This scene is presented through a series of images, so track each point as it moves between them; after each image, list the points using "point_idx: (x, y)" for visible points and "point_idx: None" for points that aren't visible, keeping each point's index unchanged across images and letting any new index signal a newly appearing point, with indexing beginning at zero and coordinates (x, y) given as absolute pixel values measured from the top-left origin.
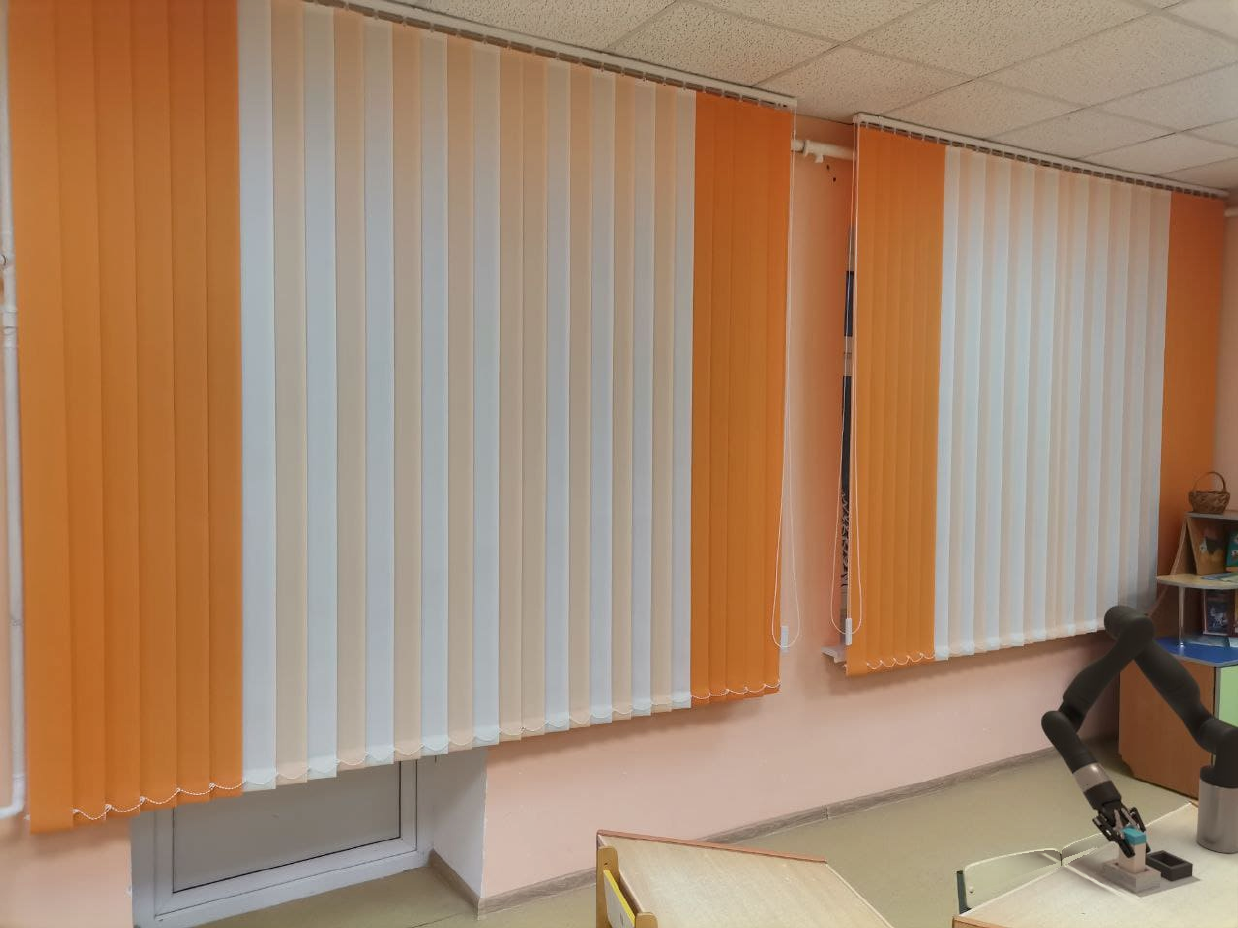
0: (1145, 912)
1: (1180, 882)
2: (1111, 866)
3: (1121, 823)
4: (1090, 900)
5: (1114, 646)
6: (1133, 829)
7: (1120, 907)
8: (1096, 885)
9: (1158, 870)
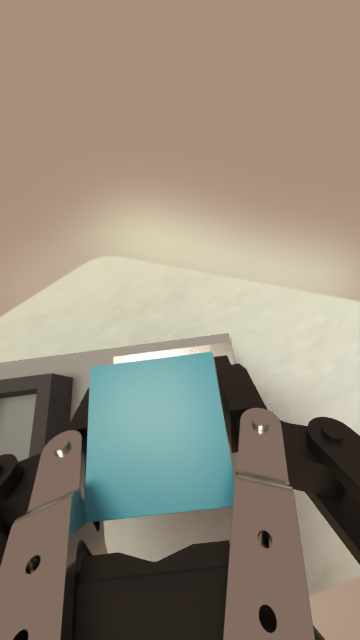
0: (248, 301)
1: (56, 367)
2: None
3: (232, 534)
4: (354, 376)
5: None
6: (104, 472)
7: (293, 331)
8: None
9: (62, 420)
